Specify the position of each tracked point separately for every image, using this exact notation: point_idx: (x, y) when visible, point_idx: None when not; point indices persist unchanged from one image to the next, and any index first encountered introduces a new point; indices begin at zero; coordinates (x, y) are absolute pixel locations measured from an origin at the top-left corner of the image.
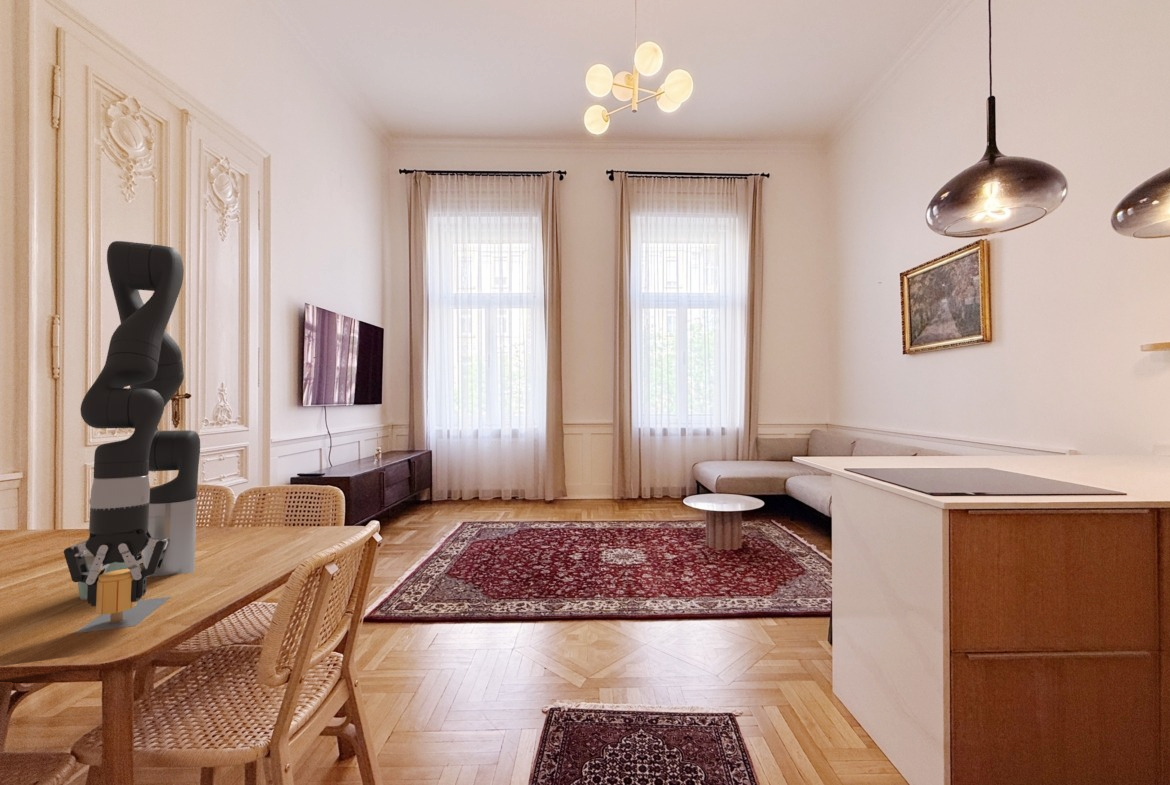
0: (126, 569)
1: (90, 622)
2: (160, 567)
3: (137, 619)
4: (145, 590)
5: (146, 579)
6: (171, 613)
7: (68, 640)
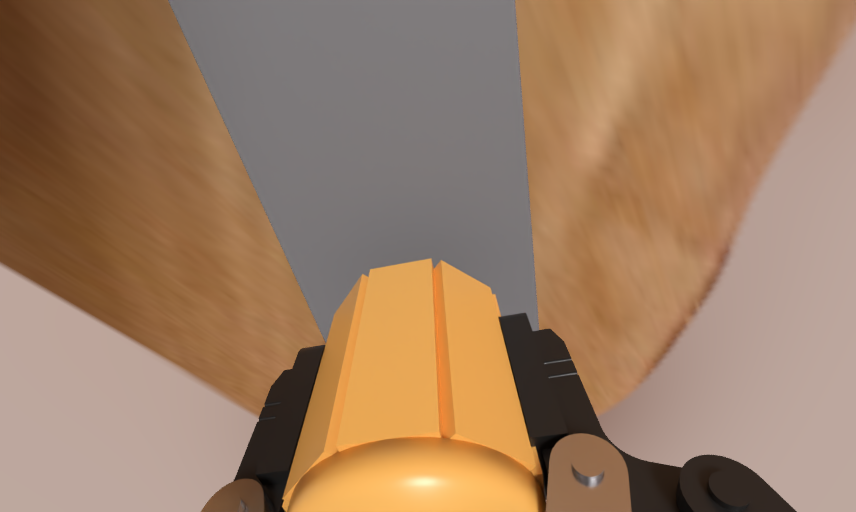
0: (412, 501)
1: (301, 281)
2: (768, 492)
3: (507, 279)
4: (568, 359)
5: (598, 421)
6: (574, 75)
7: (302, 321)
